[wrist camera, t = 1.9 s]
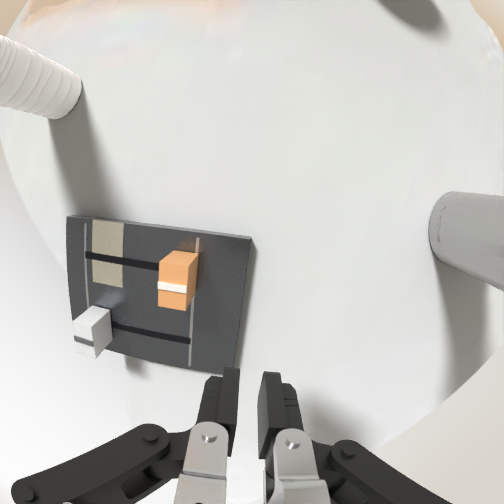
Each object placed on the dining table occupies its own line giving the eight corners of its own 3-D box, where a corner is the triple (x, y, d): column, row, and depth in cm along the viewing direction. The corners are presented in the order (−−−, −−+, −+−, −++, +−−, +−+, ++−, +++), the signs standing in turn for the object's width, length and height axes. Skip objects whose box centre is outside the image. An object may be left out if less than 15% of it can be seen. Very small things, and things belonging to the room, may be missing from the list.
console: (250, 236, 27) (250, 239, 26) (232, 367, 31) (232, 375, 29) (73, 215, 27) (66, 216, 25) (81, 334, 30) (75, 339, 29)
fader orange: (198, 253, 26) (187, 266, 21) (195, 292, 27) (185, 311, 22) (174, 250, 26) (158, 262, 21) (171, 288, 27) (157, 306, 22)
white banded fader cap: (109, 309, 27) (90, 328, 23) (112, 339, 28) (95, 359, 24) (92, 305, 27) (71, 322, 23) (95, 334, 28) (77, 353, 24)
